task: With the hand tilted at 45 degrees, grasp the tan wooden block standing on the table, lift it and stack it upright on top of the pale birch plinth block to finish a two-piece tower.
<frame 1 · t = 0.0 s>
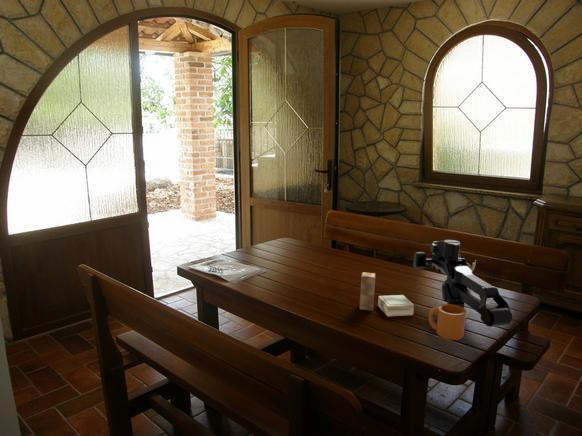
hand: (427, 253, 197), 17 cm above the table, tool horizontal, fingers open, 9 cm apart
mug: (445, 333, 163), on the table
snail figurine: (465, 285, 209), on the table
tan wooden block: (366, 307, 182), on the table
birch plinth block: (395, 310, 180), on the table
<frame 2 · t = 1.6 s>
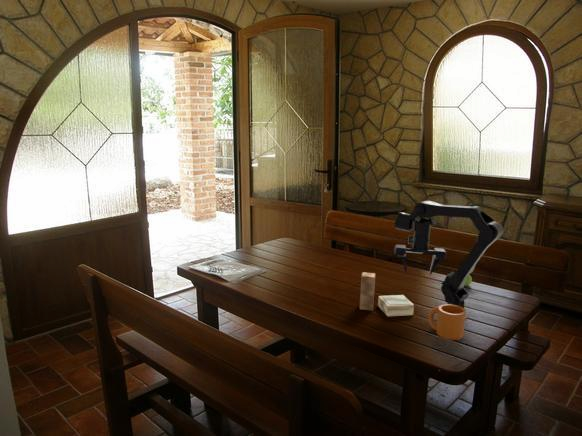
hand: (417, 273, 183), 13 cm above the table, tool pointing down, fingers open, 9 cm apart
nothing on the table moved.
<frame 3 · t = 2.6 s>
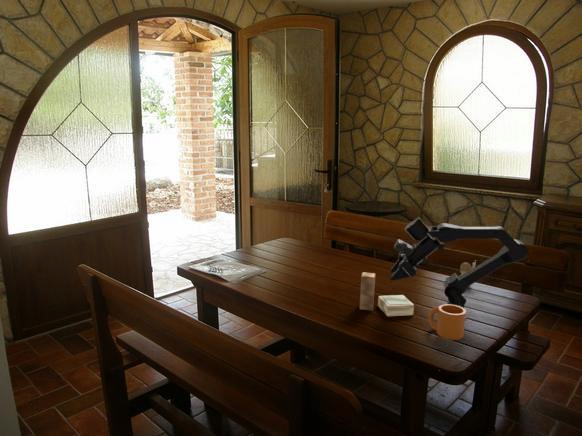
hand: (390, 275, 178), 13 cm above the table, tool tilted 45°, fingers open, 9 cm apart
nothing on the table moved.
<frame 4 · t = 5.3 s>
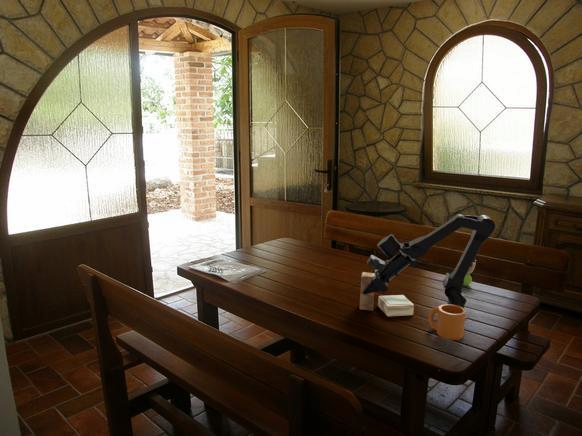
hand: (363, 290, 181), 7 cm above the table, tool tilted 45°, fingers closed on tan wooden block, 5 cm apart
tan wooden block: (366, 307, 182), on the table, touching gripper
everything else where it was.
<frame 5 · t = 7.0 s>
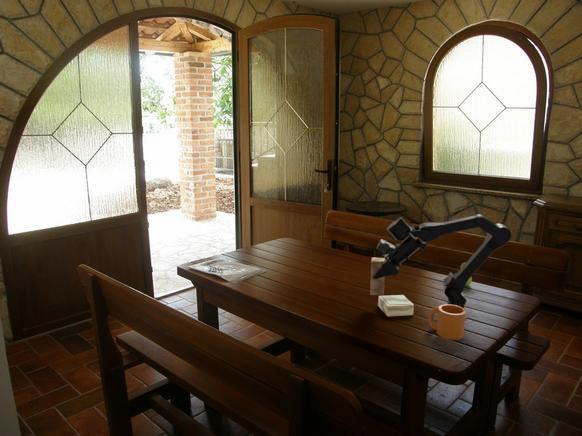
hand: (374, 275, 179), 13 cm above the table, tool tilted 45°, fingers closed on tan wooden block, 5 cm apart
tan wooden block: (377, 292, 180), point 6 cm above the table, touching gripper
everything else where it was.
when the fingers open (11 cm above the table, at t = 8.3 s): tan wooden block stays where it is, resting on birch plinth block.
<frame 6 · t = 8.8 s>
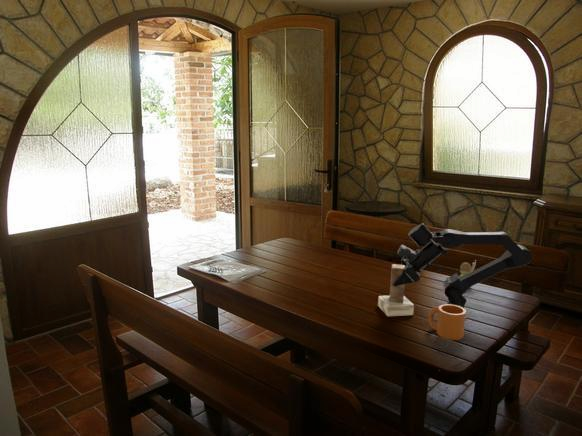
hand: (393, 281, 178), 12 cm above the table, tool tilted 45°, fingers open, 9 cm apart
tan wooden block: (396, 299, 179), point 4 cm above the table, touching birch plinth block
everything else where it was.
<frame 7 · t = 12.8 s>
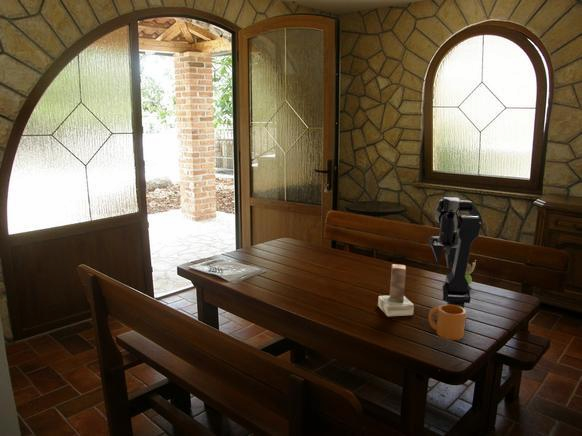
hand: (443, 265, 193), 13 cm above the table, tool pointing down, fingers open, 9 cm apart
nothing on the table moved.
at the end: tan wooden block inside the target area on the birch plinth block (0.1 cm from its centre), point 4.2 cm above the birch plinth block's base; tan wooden block tilted 0°; the gripper is holding nothing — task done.
